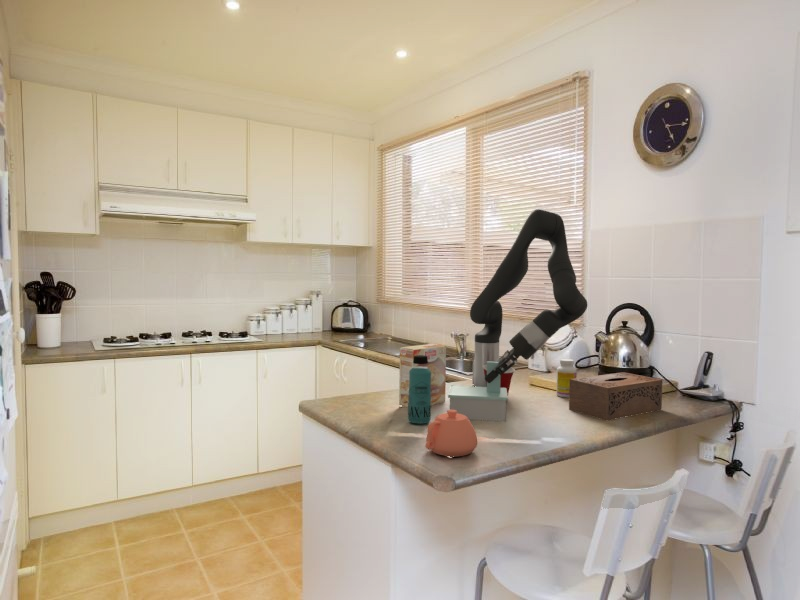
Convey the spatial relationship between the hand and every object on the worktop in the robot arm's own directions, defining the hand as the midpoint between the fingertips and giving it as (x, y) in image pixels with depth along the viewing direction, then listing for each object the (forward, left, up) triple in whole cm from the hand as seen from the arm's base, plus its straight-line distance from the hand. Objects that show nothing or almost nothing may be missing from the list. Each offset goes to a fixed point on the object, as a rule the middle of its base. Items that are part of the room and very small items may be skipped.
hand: (486, 379), depth 157 cm
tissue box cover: (+15, +41, -12) cm, 46 cm away
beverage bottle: (-4, -22, -12) cm, 25 cm away
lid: (-2, -2, -5) cm, 5 cm away
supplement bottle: (-6, +43, -12) cm, 45 cm away
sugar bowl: (+18, -29, -12) cm, 36 cm away
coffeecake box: (-22, -8, -12) cm, 26 cm away
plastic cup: (-12, +16, -12) cm, 23 cm away
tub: (-2, -2, -12) cm, 12 cm away
